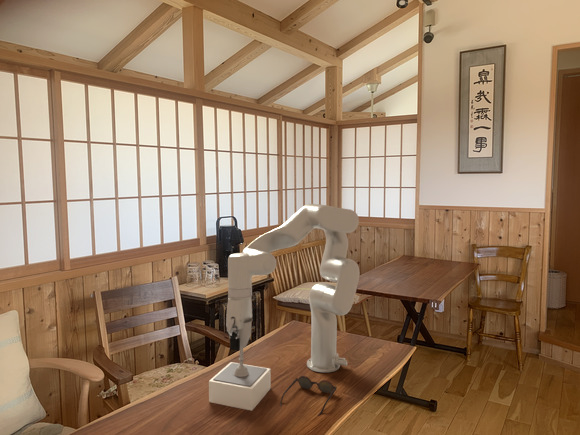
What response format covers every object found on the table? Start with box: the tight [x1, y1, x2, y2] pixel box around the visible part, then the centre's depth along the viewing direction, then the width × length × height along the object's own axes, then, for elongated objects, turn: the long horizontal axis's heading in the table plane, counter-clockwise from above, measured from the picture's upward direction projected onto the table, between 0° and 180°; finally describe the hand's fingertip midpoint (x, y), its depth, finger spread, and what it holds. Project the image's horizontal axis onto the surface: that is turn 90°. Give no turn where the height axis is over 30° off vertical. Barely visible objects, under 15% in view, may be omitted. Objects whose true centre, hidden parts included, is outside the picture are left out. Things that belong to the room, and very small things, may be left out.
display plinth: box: [208, 361, 272, 411], centre depth 146 cm, size 15×15×7 cm
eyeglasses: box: [279, 375, 337, 417], centre depth 143 cm, size 15×15×5 cm
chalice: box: [233, 317, 254, 377], centre depth 145 cm, size 7×7×18 cm
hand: (240, 344), depth 145 cm, fingers open, 7 cm apart
